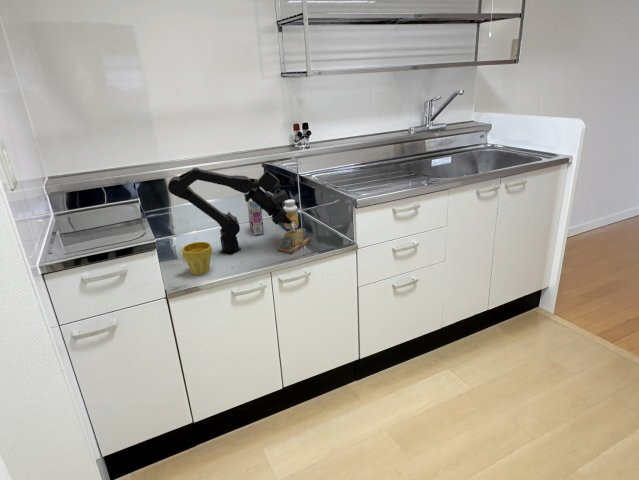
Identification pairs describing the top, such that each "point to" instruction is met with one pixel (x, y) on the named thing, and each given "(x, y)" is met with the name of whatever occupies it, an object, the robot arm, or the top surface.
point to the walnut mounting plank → (294, 247)
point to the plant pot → (198, 256)
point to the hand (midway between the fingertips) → (290, 222)
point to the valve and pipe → (293, 238)
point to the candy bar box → (255, 218)
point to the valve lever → (293, 222)
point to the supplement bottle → (291, 212)
